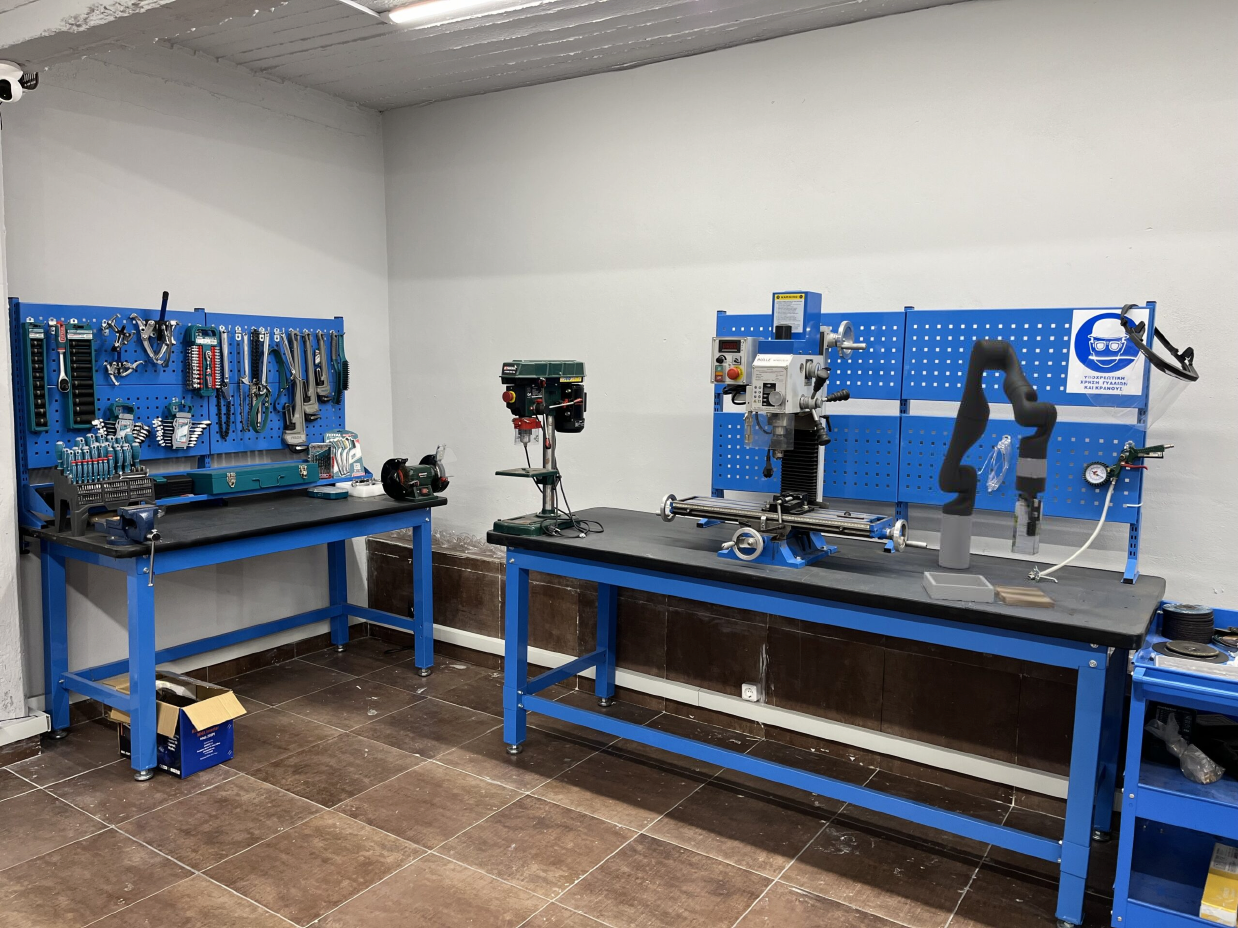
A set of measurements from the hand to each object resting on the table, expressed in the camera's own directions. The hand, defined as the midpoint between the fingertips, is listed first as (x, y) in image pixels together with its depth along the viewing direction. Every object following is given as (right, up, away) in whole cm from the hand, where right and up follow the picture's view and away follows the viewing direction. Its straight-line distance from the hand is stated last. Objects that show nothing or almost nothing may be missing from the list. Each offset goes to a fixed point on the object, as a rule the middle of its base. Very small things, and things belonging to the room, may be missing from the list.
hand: (1026, 533), depth 242 cm
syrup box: (0, -6, +1) cm, 6 cm away
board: (0, -19, +2) cm, 19 cm away
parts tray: (-17, -18, +6) cm, 25 cm away
